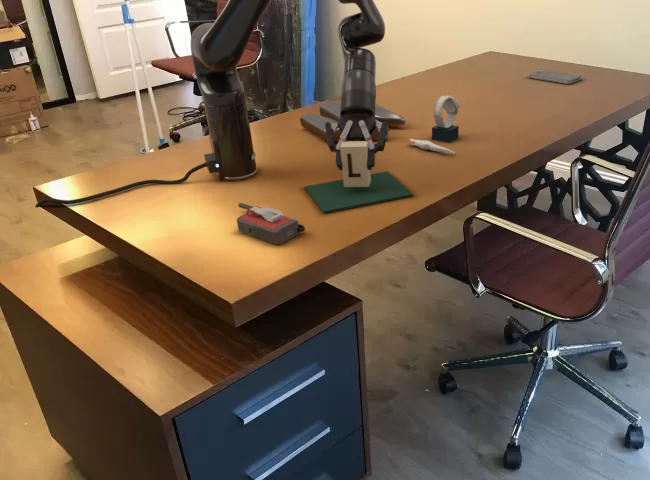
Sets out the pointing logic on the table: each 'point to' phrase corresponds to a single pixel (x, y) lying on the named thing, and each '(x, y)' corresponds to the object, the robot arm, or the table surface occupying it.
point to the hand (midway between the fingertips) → (355, 168)
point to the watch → (446, 129)
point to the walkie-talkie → (268, 224)
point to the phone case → (555, 76)
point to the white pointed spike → (430, 146)
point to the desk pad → (357, 193)
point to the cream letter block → (355, 164)
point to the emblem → (332, 115)
